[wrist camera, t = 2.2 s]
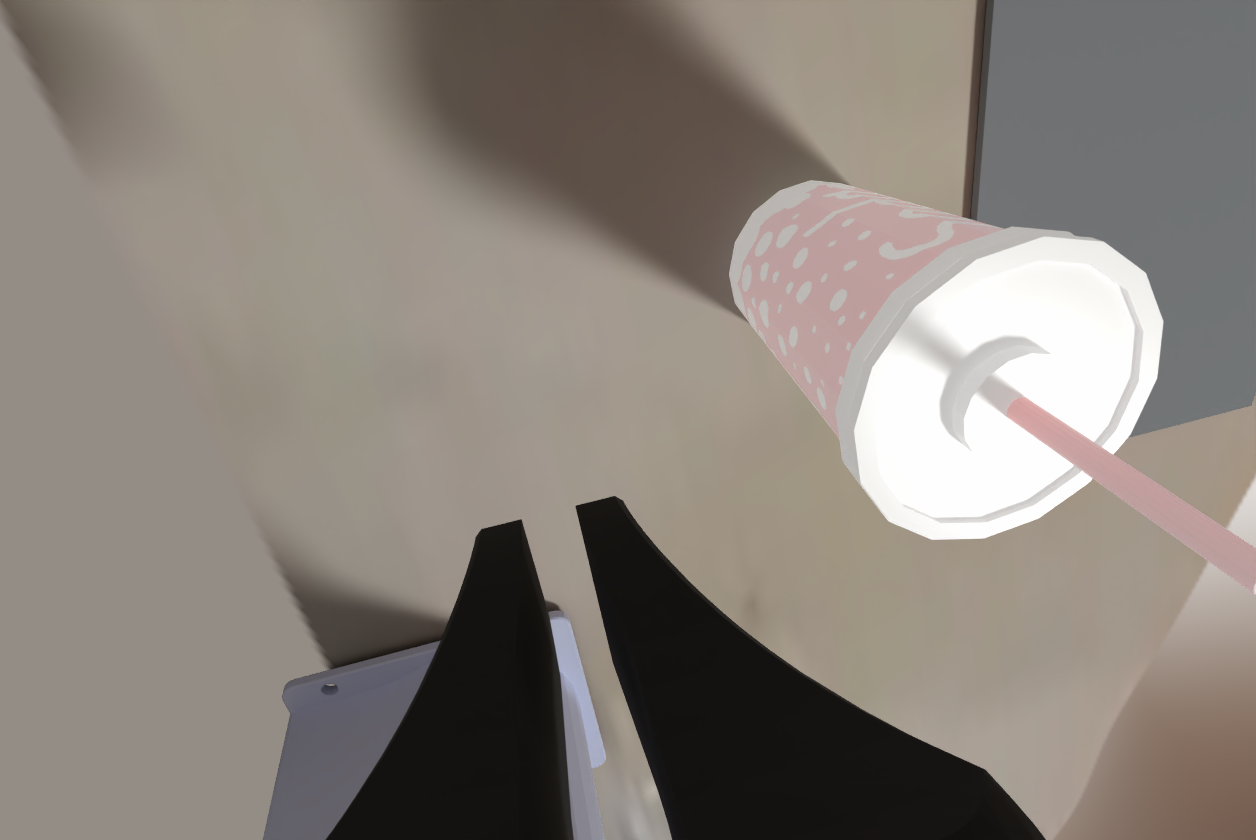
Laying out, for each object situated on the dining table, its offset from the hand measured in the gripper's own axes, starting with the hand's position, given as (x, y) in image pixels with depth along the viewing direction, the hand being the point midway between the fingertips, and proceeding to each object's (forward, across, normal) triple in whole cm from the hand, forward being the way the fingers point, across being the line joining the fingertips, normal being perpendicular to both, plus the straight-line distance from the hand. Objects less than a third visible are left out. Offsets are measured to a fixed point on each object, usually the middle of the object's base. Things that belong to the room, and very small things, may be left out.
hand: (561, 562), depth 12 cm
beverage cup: (+11, -8, 0) cm, 13 cm away
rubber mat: (+10, -19, +1) cm, 22 cm away
